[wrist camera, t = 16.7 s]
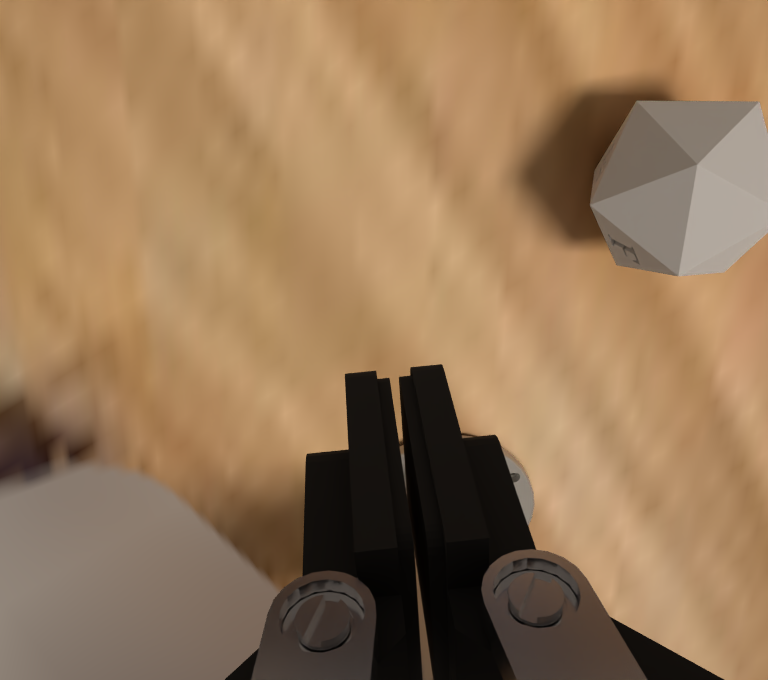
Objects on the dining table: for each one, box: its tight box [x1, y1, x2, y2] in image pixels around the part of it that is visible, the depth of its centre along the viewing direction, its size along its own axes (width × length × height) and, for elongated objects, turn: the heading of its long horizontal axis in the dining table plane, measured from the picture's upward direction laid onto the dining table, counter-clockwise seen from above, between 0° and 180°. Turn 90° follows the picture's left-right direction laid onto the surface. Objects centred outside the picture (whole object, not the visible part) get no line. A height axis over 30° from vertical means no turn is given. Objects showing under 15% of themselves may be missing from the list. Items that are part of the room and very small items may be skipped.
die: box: [590, 101, 768, 276], centre depth 35 cm, size 8×9×10 cm
